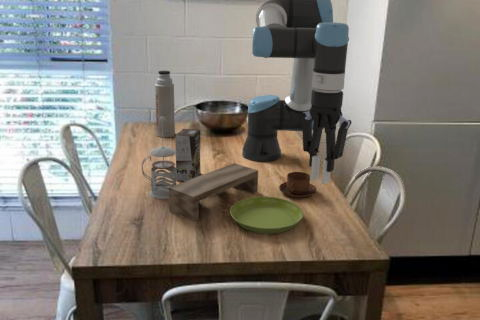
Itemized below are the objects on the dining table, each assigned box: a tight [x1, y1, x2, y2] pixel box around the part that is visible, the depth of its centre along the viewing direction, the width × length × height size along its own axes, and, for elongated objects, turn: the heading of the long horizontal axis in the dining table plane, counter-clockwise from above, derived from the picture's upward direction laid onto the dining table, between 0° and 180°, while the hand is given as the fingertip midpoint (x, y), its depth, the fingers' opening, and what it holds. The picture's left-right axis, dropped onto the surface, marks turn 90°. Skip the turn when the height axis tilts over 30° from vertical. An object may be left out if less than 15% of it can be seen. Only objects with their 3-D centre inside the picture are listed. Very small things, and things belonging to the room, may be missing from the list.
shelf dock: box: [168, 162, 259, 222], centre depth 154 cm, size 10×29×8 cm, turn 140°
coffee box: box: [175, 128, 201, 182], centre depth 172 cm, size 9×6×16 cm
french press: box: [141, 117, 177, 200], centre depth 156 cm, size 10×12×25 cm
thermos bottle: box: [154, 70, 176, 138], centre depth 218 cm, size 8×8×28 cm
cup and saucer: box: [279, 171, 317, 199], centre depth 162 cm, size 12×12×6 cm
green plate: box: [229, 196, 304, 235], centre depth 143 cm, size 21×21×3 cm
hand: (320, 180), depth 128 cm, fingers open, 3 cm apart
